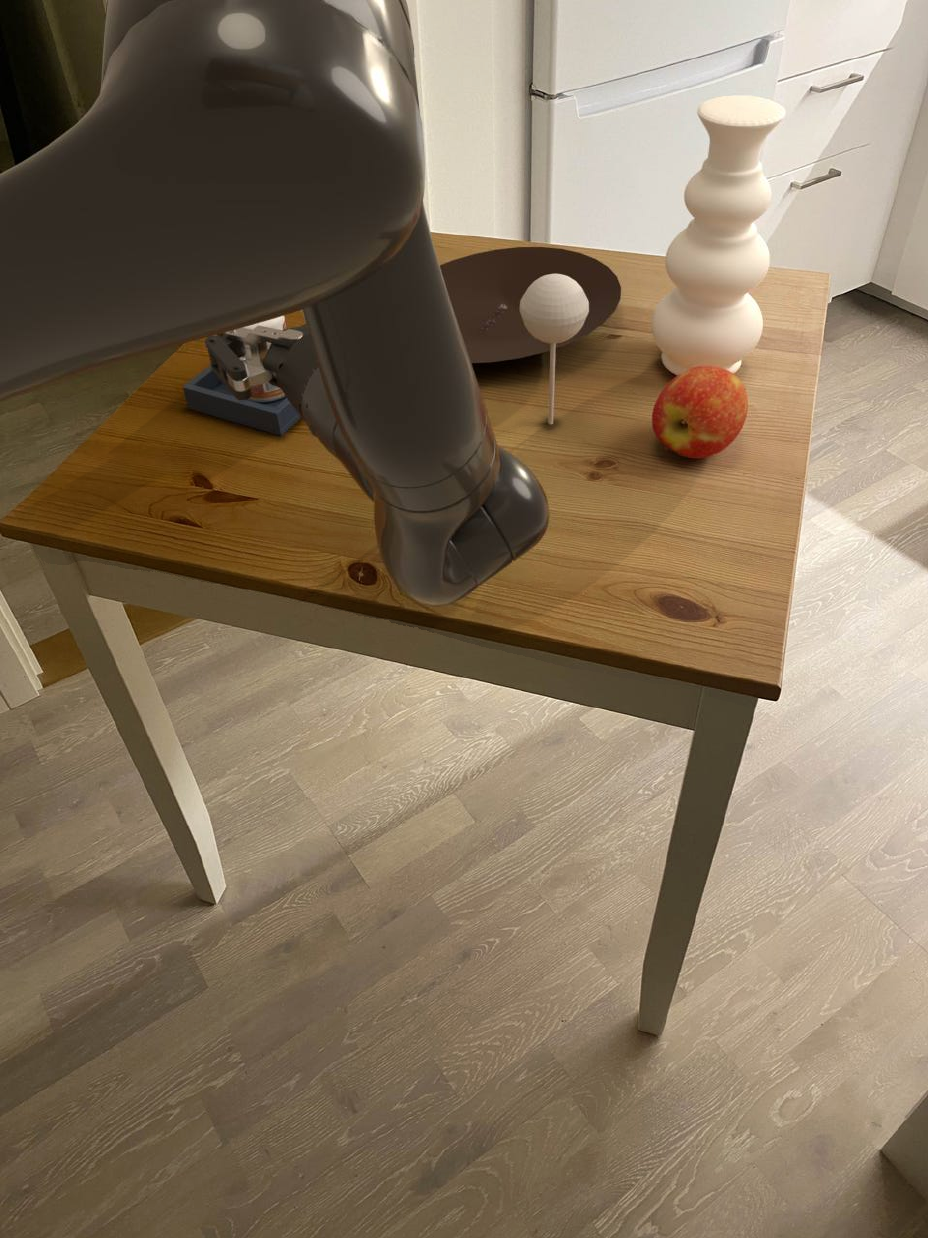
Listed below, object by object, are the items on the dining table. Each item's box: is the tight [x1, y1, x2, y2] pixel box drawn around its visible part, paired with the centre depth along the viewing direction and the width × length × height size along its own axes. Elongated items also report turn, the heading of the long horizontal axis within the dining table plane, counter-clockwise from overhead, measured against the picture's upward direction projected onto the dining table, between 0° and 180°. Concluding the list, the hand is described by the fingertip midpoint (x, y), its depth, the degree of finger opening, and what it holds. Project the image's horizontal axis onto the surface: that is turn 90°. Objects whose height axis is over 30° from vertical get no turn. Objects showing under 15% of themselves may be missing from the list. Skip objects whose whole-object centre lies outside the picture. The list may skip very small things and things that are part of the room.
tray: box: [182, 364, 302, 437], centre depth 97 cm, size 12×12×3 cm
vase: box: [651, 94, 786, 376], centre depth 89 cm, size 11×11×25 cm
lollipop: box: [520, 274, 589, 425], centre depth 87 cm, size 6×6×15 cm
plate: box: [439, 246, 622, 364], centre depth 105 cm, size 28×28×4 cm
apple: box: [651, 366, 749, 459], centre depth 86 cm, size 8×8×8 cm
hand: (272, 304), depth 78 cm, fingers open, 8 cm apart
